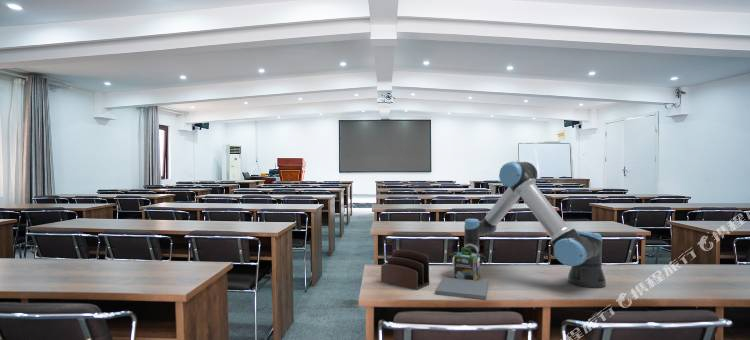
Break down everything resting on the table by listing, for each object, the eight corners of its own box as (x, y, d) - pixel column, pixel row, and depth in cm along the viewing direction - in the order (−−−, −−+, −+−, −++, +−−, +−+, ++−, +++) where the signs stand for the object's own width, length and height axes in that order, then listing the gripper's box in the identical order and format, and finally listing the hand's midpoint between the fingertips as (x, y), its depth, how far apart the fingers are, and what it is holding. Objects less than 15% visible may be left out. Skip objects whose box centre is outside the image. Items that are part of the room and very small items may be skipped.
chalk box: (479, 278, 188) (479, 246, 188) (473, 283, 180) (473, 250, 180) (460, 275, 193) (460, 244, 192) (453, 280, 185) (453, 248, 184)
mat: (488, 285, 177) (488, 281, 177) (485, 299, 158) (485, 295, 158) (442, 280, 184) (442, 277, 184) (435, 294, 165) (435, 290, 165)
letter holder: (393, 276, 190) (393, 247, 190) (429, 285, 178) (429, 253, 177) (380, 281, 182) (380, 250, 182) (417, 290, 170) (417, 257, 170)
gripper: (493, 261, 200) (491, 273, 179) (447, 258, 207) (440, 268, 186) (493, 246, 199) (491, 256, 178) (447, 243, 207) (440, 252, 186)
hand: (465, 262), depth 182 cm, fingers closed on chalk box, 10 cm apart
